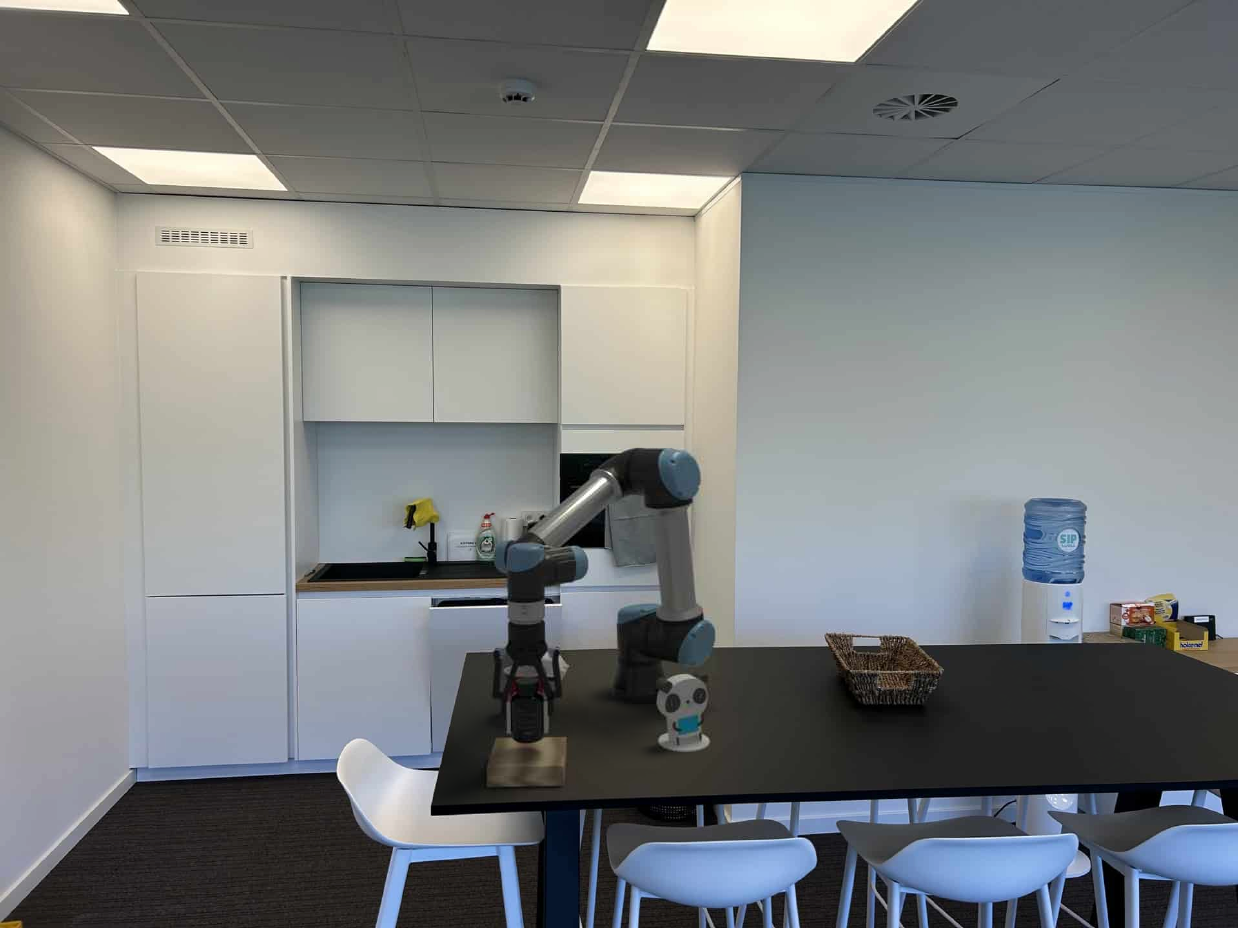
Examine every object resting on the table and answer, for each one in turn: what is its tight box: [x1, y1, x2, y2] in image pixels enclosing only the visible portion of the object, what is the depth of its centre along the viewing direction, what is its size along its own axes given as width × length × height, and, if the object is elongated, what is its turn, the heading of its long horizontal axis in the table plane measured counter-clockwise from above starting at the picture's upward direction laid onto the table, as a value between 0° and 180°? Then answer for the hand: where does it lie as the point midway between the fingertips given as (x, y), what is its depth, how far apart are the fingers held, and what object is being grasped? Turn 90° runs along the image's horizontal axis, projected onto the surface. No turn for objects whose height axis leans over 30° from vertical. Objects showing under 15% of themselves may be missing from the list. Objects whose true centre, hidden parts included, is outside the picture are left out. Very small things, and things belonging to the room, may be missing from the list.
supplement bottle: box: [511, 677, 546, 744], centre depth 178 cm, size 7×7×12 cm
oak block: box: [486, 736, 568, 788], centre depth 179 cm, size 15×15×4 cm
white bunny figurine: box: [541, 652, 570, 681], centre depth 241 cm, size 8×8×15 cm
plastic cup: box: [503, 665, 549, 698], centre depth 209 cm, size 11×11×12 cm
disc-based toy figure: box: [655, 670, 711, 753], centre depth 193 cm, size 12×11×15 cm
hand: (527, 730), depth 178 cm, fingers closed on supplement bottle, 7 cm apart
